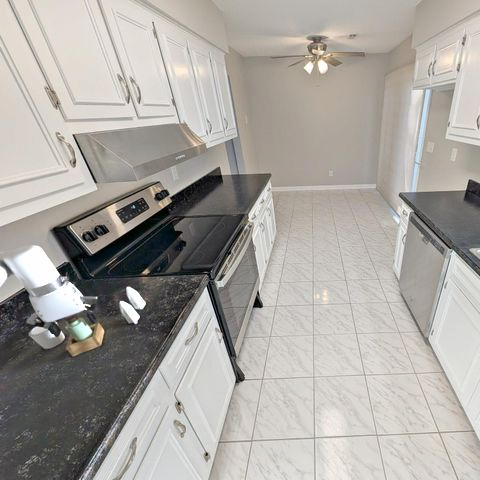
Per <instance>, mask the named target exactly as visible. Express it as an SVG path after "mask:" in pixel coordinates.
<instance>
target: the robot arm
mask: <svg viewBox="0 0 480 480" xmlns="http://www.w3.org/2000/svg"><path fill="white" fill-rule="evenodd" d="M13 275H14V277H15V278H16V279H17V281H18V282H20V284H21V285H22V286H23V287H24V289H25V290H26V292H27V293H28V294H29V295H28V298H29V301H30V304H31V306H32V308H33V310H34V313H33V314H31V316H29V317H28V318H27V319H26V321H25V322H26V324H29V325H31V326H34V327H43V328H44V329H48V330H49V331H50V333H51V334H52V335H53V334H54V336H55V337H58V336H59V335H60V333H61V331H62V329H61V327H60V326H59V324H58V323H57V321H58V320H61V319H65V318H66V317H68V316H70V315H73V314H76V315H77V314H79V313H84V314H86V317H87V319H88V320H89V321H90V323H91V325H93V324H96V323H97V319H98V318H99V316H98V315H97V313H96V312H95V309H96V307H97V305H98V300H99V297H98V296H89V295H88V296H87V295H86V296H85V295H83V294H82V292H81V291H80V290H79V289H78V288H77V287H76V286H75V285H74V284H73V283H71V282H70V277H69V276H68V275H66V276H62V274H61V273H60V272H59V271H58V270H57V268H56V267H55V266H54V264H53V263H52V261H51V260H50V258H49V256H47V254H46V253H45V251H44V249H43V248H41V246H39V245H34V244H32V245H25V246H20V247H17V248H14V249H11V250H4V251H0V287H2V285H3V284H4V283H5V282H6V280H7V279H8V278H10V277H11V276H13ZM87 303H91V304H87ZM38 318H40V319H38ZM52 321H56V322H52ZM56 323H57V324H58V325H57V324H56Z"/></svg>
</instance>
